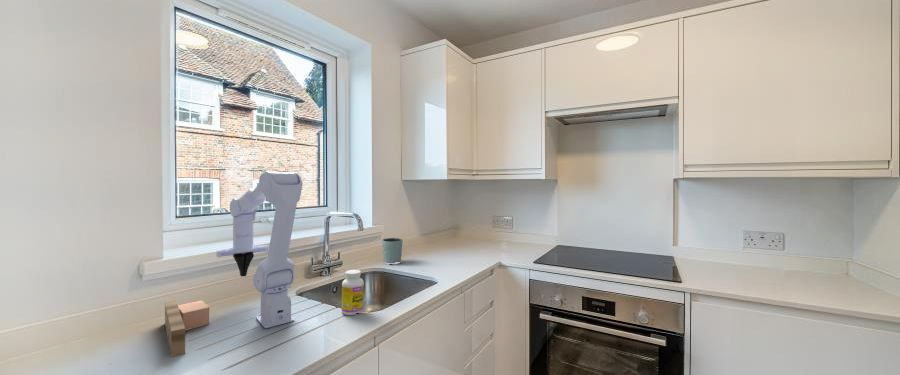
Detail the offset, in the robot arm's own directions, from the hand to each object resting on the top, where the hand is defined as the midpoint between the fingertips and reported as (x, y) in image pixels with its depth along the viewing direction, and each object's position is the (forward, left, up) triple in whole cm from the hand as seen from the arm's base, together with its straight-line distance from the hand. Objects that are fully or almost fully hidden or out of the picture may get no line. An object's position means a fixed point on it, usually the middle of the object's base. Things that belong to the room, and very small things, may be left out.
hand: (243, 275), depth 111 cm
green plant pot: (+14, -68, -10) cm, 70 cm away
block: (-8, +14, -10) cm, 19 cm away
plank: (-15, +19, -9) cm, 26 cm away
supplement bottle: (-30, -24, -10) cm, 40 cm away
